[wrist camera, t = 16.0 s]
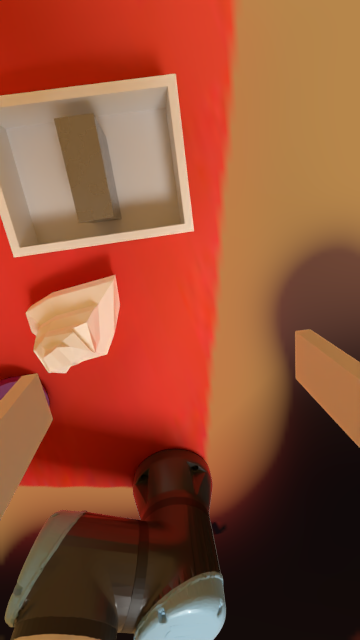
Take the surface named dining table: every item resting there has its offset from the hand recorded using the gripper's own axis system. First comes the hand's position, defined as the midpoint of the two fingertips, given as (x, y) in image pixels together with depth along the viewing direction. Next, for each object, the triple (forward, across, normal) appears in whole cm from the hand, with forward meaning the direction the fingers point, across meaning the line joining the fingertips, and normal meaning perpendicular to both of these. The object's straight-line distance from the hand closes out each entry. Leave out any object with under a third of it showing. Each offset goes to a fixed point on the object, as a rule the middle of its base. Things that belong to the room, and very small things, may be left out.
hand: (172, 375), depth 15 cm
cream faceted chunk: (+31, +13, +5) cm, 34 cm away
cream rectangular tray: (+31, +6, -14) cm, 34 cm away
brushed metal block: (+30, +6, -14) cm, 33 cm away
